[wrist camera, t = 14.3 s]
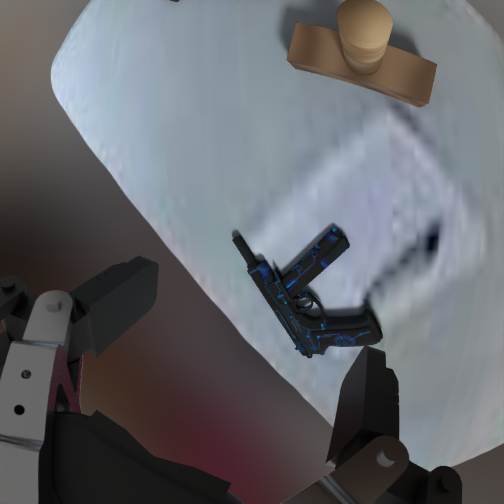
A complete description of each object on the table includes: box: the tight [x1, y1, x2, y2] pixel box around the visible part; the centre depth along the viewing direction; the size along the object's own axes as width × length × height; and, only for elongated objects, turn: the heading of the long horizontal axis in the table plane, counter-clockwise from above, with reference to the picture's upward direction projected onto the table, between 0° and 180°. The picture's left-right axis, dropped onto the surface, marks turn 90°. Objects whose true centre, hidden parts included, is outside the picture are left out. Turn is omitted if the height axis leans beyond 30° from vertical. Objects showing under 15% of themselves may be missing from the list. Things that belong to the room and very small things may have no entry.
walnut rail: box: [287, 22, 437, 108], centre depth 28 cm, size 16×5×5 cm, turn 77°
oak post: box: [336, 0, 393, 76], centre depth 20 cm, size 4×4×12 cm
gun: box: [233, 227, 383, 358], centre depth 42 cm, size 24×3×15 cm
